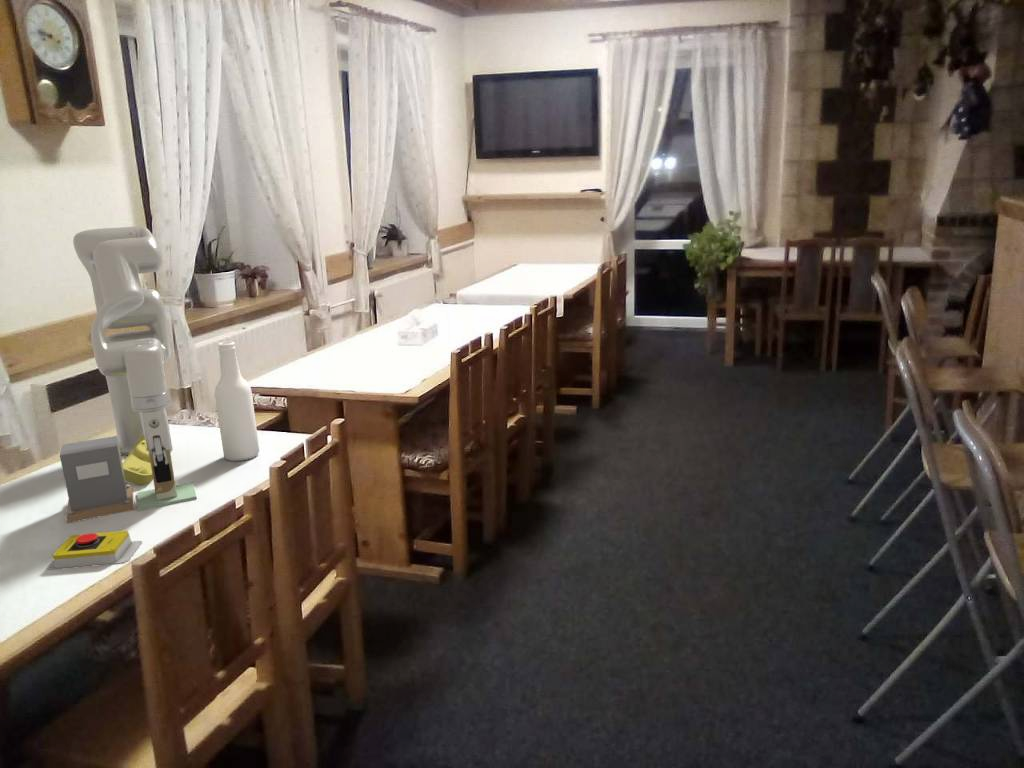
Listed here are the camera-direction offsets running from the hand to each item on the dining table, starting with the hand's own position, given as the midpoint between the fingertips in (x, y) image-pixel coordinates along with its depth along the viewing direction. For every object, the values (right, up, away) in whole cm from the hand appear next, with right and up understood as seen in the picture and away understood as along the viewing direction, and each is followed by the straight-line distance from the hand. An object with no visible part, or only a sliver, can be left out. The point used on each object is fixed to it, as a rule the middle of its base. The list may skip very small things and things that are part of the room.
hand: (163, 475), depth 180 cm
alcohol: (+9, +2, +26) cm, 27 cm away
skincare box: (0, -5, +1) cm, 5 cm away
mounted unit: (-13, -7, -2) cm, 15 cm away
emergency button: (-2, -13, -25) cm, 29 cm away
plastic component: (-12, -2, +17) cm, 21 cm away
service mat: (0, -5, +1) cm, 5 cm away
